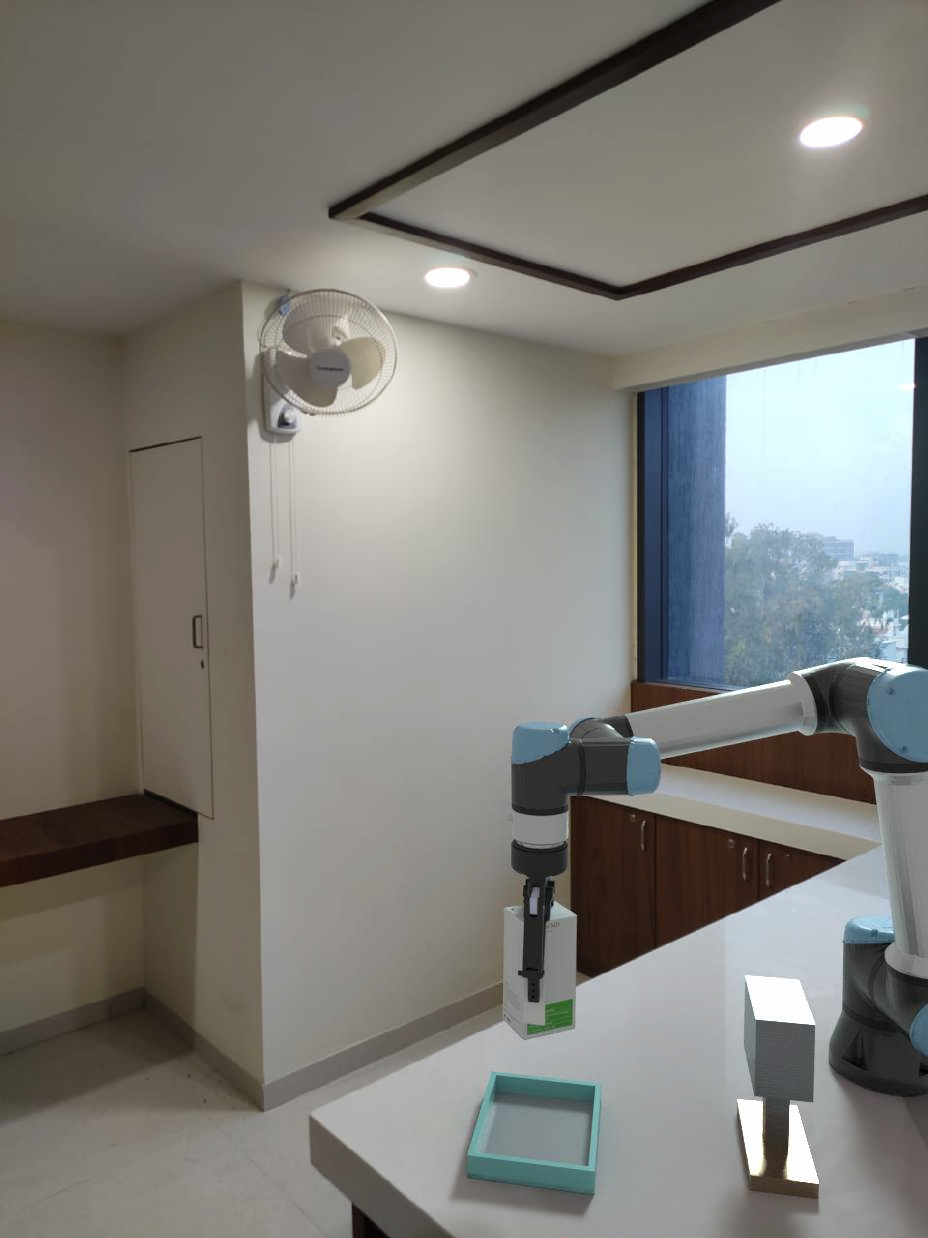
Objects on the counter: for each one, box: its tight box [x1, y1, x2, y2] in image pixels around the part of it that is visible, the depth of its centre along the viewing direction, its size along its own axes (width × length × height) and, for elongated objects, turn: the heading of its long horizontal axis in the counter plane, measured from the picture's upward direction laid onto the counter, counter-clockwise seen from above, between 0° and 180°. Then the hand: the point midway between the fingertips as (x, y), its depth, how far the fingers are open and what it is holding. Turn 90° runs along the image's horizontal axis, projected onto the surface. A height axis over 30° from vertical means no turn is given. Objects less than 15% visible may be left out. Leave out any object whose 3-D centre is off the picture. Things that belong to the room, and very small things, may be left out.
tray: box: [466, 1071, 602, 1195], centre depth 122 cm, size 16×19×3 cm
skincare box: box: [502, 900, 578, 1041], centre depth 120 cm, size 8×7×16 cm
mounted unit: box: [736, 975, 820, 1200], centre depth 118 cm, size 8×16×21 cm, turn 169°
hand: (538, 1003), depth 121 cm, fingers closed on skincare box, 10 cm apart
